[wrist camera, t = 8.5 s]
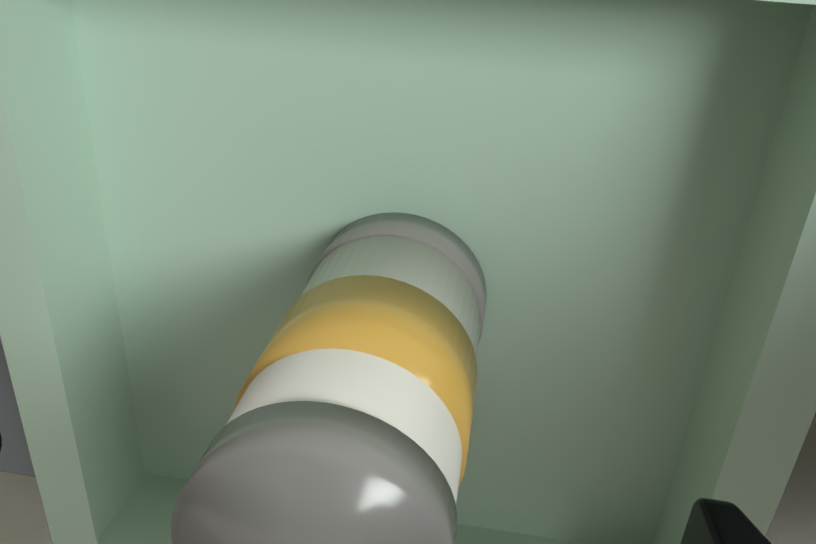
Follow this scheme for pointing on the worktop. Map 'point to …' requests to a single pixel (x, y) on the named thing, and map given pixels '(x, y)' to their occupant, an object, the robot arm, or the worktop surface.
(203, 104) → the tray
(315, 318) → the fuse marked
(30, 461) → the fuse panel
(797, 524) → the worktop surface
